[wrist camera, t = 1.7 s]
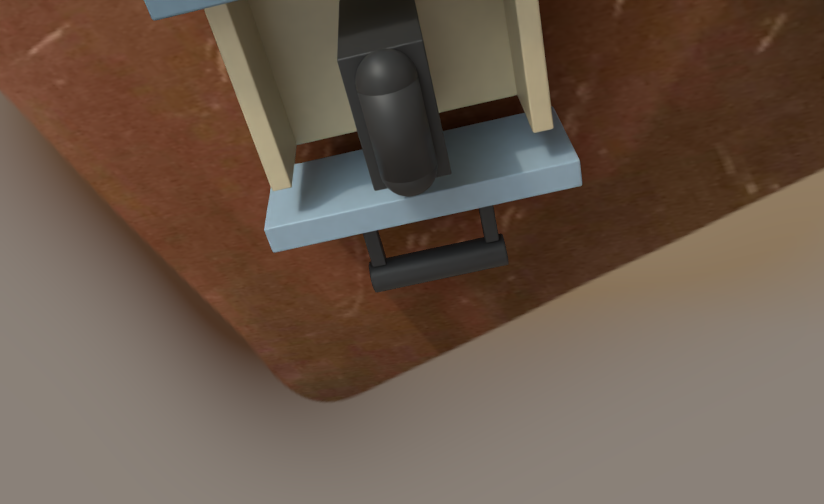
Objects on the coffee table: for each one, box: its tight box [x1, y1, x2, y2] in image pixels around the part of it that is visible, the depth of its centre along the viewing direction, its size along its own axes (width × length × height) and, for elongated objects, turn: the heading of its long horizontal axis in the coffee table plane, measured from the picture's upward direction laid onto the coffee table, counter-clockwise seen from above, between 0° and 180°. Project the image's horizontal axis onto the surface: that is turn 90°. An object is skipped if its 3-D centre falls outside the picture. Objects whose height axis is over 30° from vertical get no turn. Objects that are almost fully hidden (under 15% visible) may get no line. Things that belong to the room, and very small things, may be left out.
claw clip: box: [337, 0, 452, 197], centre depth 28 cm, size 5×3×7 cm, turn 12°
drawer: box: [204, 0, 582, 292], centre depth 30 cm, size 19×13×5 cm
